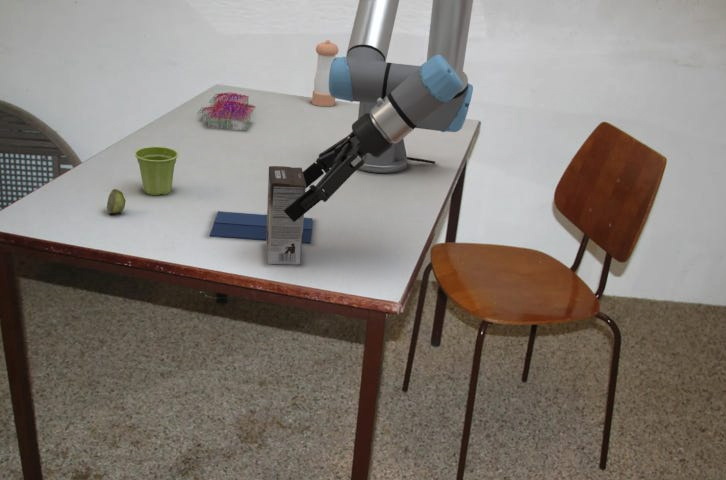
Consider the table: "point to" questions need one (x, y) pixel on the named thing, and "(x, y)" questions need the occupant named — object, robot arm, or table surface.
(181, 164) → the table surface
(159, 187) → the plant pot
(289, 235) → the coffee box
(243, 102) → the pink and grey package
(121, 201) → the lime
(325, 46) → the pepper shaker
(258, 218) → the napkin
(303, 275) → the table surface
